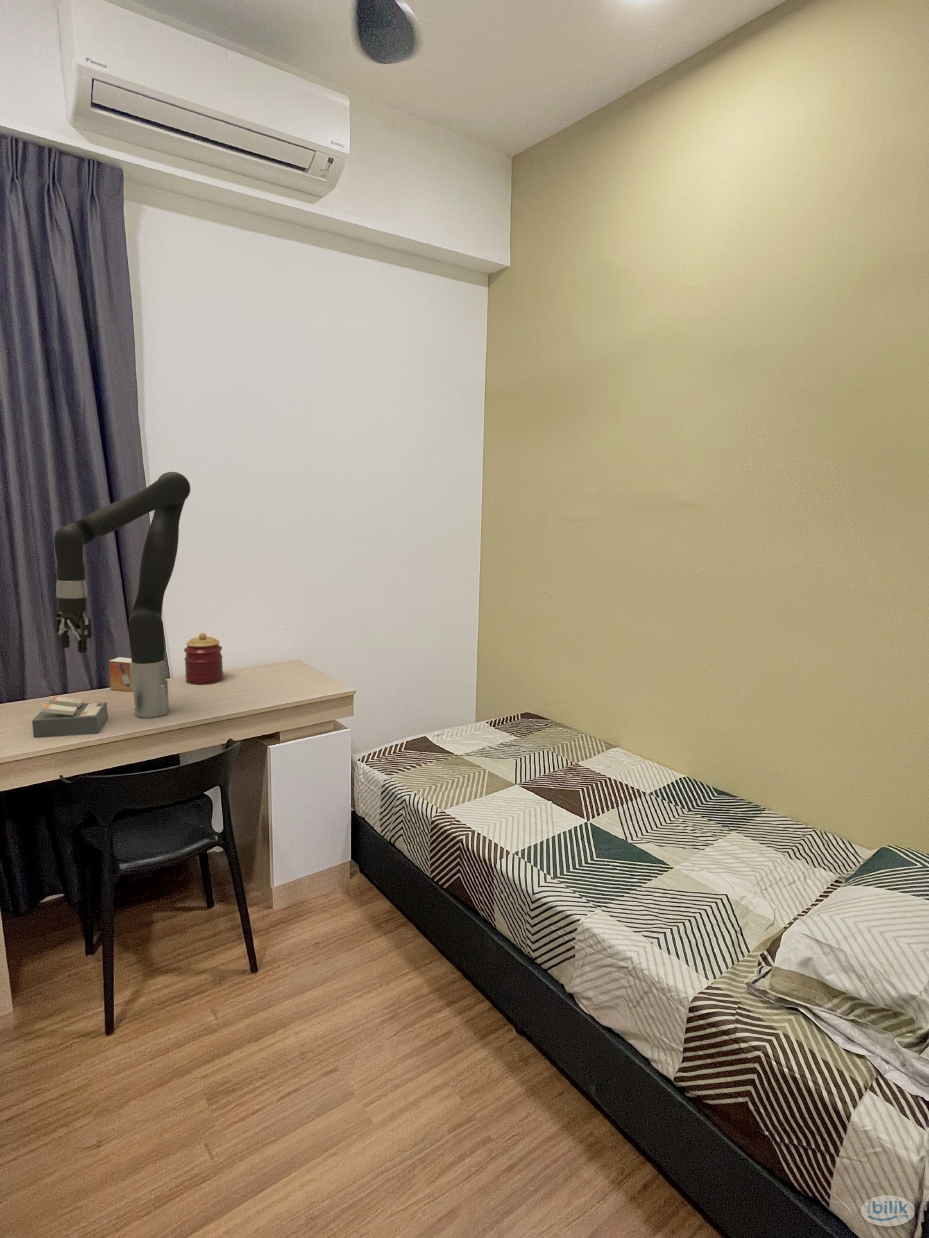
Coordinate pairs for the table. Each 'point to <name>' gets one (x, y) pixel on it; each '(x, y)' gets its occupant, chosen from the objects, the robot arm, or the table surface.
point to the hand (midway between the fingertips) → (73, 650)
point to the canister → (203, 660)
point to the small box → (121, 674)
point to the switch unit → (71, 721)
